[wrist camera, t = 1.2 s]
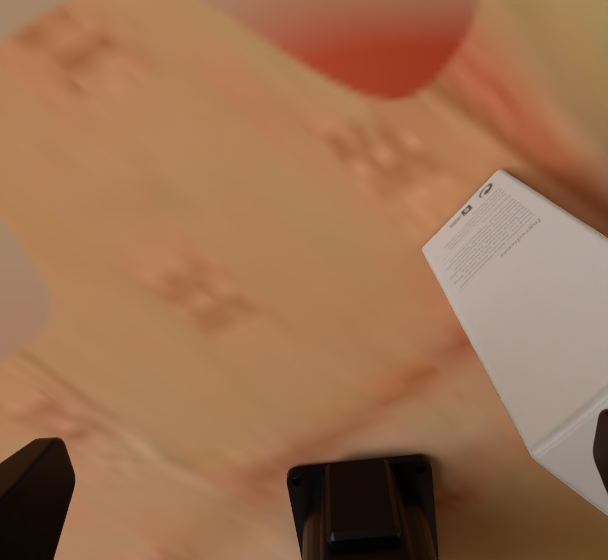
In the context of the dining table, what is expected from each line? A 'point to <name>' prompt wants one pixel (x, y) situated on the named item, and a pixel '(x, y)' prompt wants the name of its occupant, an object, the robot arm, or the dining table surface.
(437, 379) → the dining table surface
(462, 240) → the skincare box
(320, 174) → the dining table surface
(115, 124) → the dining table surface
